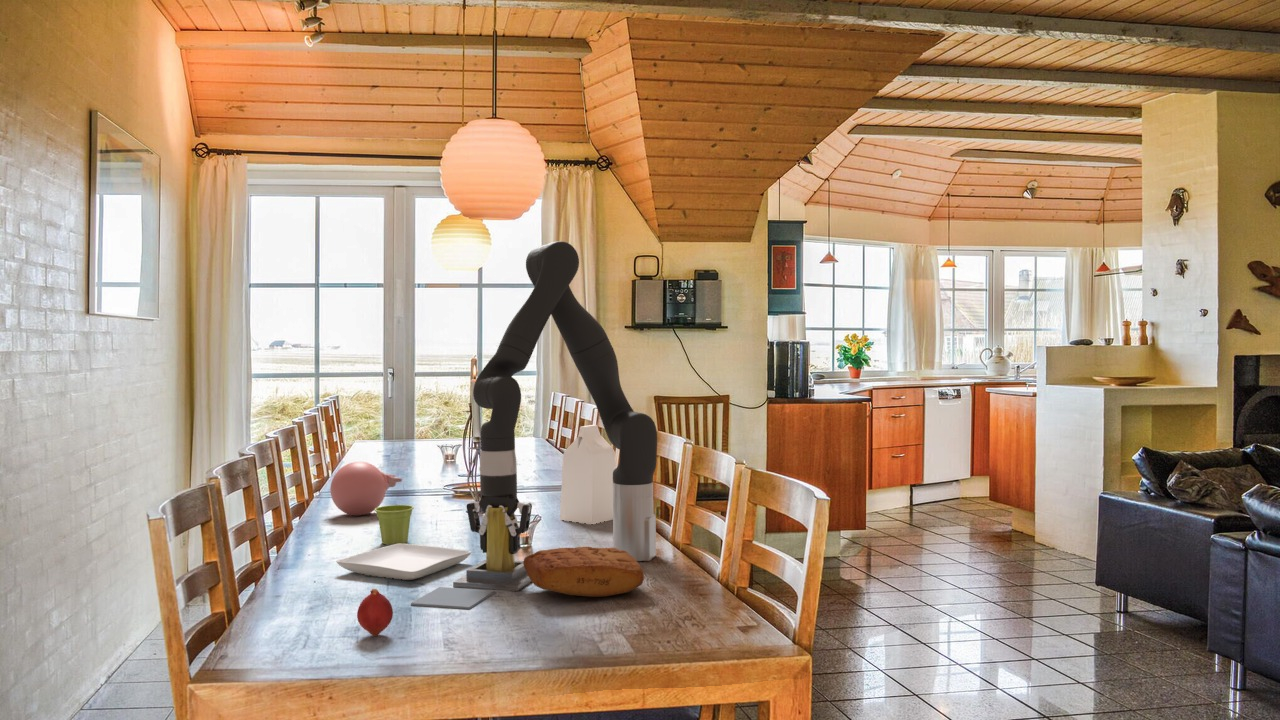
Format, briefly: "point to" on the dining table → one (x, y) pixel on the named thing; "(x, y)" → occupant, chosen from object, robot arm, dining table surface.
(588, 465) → the milk
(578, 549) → the cuneiform tablet
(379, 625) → the onion
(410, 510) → the plant pot
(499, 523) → the vase
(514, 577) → the grey square socket base
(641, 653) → the dining table surface
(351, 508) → the pink balloon
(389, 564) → the salad plate
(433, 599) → the pad
